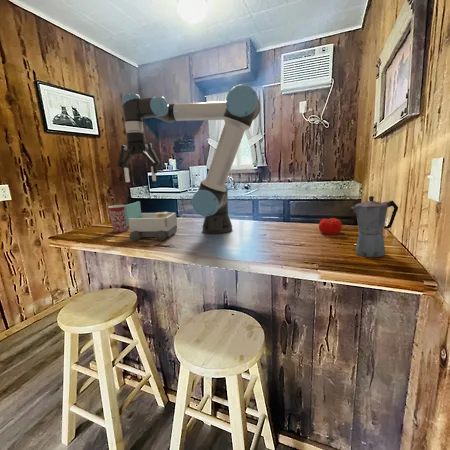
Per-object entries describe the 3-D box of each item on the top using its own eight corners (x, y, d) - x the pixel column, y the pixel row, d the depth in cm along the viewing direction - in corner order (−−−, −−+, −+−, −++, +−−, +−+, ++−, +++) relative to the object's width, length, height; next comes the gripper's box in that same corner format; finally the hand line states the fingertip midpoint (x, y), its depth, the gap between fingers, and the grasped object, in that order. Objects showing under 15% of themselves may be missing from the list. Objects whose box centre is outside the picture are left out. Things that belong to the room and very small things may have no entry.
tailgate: (143, 221, 132) (141, 201, 130) (127, 229, 116) (124, 206, 114) (141, 221, 132) (138, 201, 130) (125, 229, 116) (122, 206, 114)
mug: (119, 233, 131) (115, 207, 128) (107, 232, 136) (104, 207, 132) (138, 228, 142) (135, 204, 139) (127, 226, 146) (124, 203, 143)
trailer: (178, 230, 132) (177, 211, 130) (166, 241, 114) (164, 219, 112) (145, 231, 134) (143, 212, 132) (128, 241, 116) (125, 219, 114)
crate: (168, 221, 126) (168, 211, 125) (167, 224, 121) (166, 213, 120) (158, 222, 126) (157, 212, 124) (156, 224, 121) (155, 214, 120)
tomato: (318, 235, 113) (318, 221, 112) (319, 229, 123) (319, 216, 122) (342, 237, 110) (343, 222, 108) (341, 230, 120) (342, 217, 118)
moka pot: (341, 250, 93) (345, 195, 88) (382, 247, 94) (387, 193, 90) (357, 259, 84) (362, 198, 79) (401, 256, 85) (409, 196, 80)
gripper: (164, 132, 116) (169, 179, 121) (113, 135, 119) (120, 182, 124) (158, 129, 109) (163, 180, 114) (104, 133, 112) (112, 183, 117)
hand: (141, 181), depth 119 cm, fingers open, 12 cm apart
